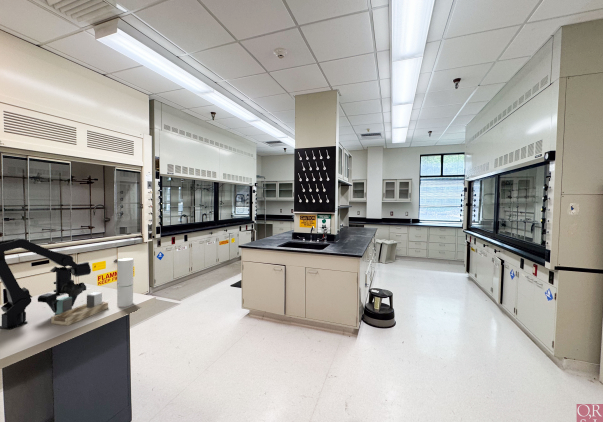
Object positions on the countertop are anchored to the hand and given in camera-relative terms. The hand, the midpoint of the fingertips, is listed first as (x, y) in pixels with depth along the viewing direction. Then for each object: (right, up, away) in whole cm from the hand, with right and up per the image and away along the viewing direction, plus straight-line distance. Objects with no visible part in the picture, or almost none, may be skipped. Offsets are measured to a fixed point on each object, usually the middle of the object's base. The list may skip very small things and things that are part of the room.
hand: (63, 309), depth 128 cm
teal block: (0, -1, 0) cm, 1 cm away
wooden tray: (+12, -2, -3) cm, 12 cm away
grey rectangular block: (+13, 0, +4) cm, 13 cm away
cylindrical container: (+23, -2, +12) cm, 26 cm away
